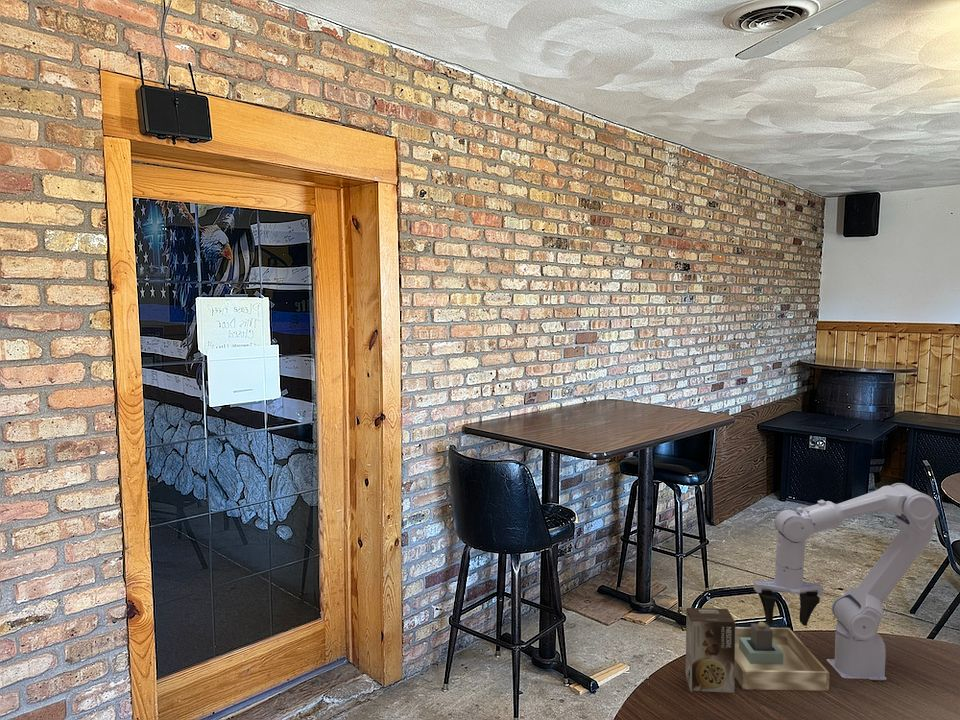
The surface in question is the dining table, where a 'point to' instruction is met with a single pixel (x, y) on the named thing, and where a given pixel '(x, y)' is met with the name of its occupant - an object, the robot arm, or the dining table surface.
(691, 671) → the coffee box
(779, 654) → the socket
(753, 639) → the plug
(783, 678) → the walled box
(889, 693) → the dining table surface
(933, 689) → the dining table surface
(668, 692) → the dining table surface
